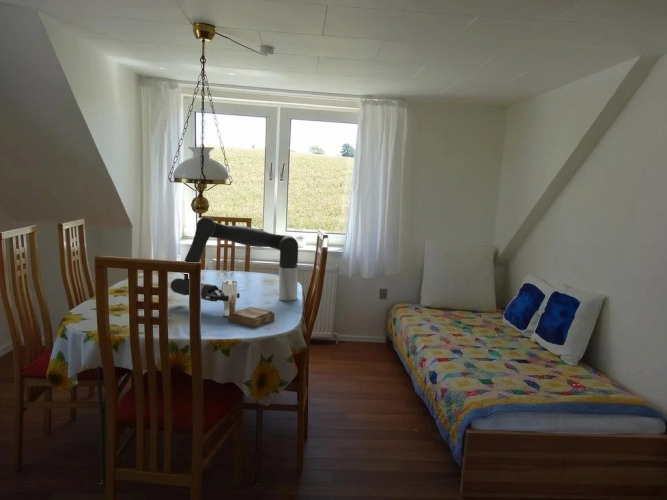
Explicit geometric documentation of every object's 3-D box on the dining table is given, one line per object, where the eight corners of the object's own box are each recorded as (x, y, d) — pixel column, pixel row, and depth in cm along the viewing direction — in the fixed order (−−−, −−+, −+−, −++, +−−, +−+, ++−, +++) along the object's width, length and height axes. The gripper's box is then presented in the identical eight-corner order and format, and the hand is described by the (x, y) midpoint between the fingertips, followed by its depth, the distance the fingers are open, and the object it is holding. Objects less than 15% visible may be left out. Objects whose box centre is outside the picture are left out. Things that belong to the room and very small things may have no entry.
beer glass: (218, 314, 202) (218, 281, 200) (232, 311, 207) (232, 279, 204) (227, 317, 197) (226, 284, 195) (240, 314, 202) (240, 282, 199)
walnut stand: (249, 314, 205) (249, 306, 204) (274, 319, 198) (274, 311, 198) (228, 322, 193) (228, 313, 192) (253, 328, 186) (254, 318, 186)
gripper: (194, 287, 201) (222, 292, 193) (217, 281, 213) (244, 286, 205) (194, 303, 202) (222, 309, 194) (217, 296, 214) (244, 302, 206)
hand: (233, 297), depth 199 cm, fingers closed on beer glass, 6 cm apart
